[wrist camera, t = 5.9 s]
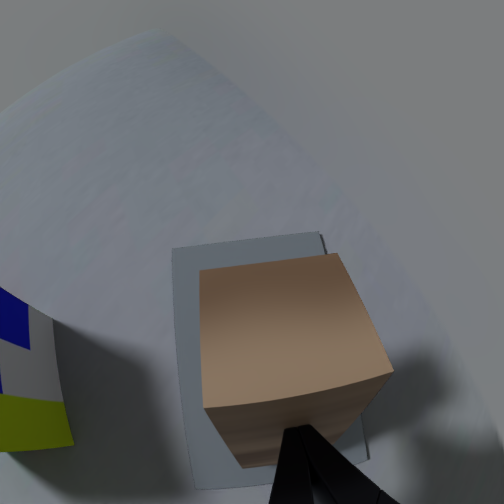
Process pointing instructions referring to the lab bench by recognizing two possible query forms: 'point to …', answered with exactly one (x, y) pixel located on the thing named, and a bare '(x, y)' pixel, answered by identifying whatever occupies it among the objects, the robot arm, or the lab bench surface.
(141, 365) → the lab bench surface
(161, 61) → the lab bench surface
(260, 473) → the slate mat
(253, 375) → the walnut block
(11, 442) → the puzzle toy
